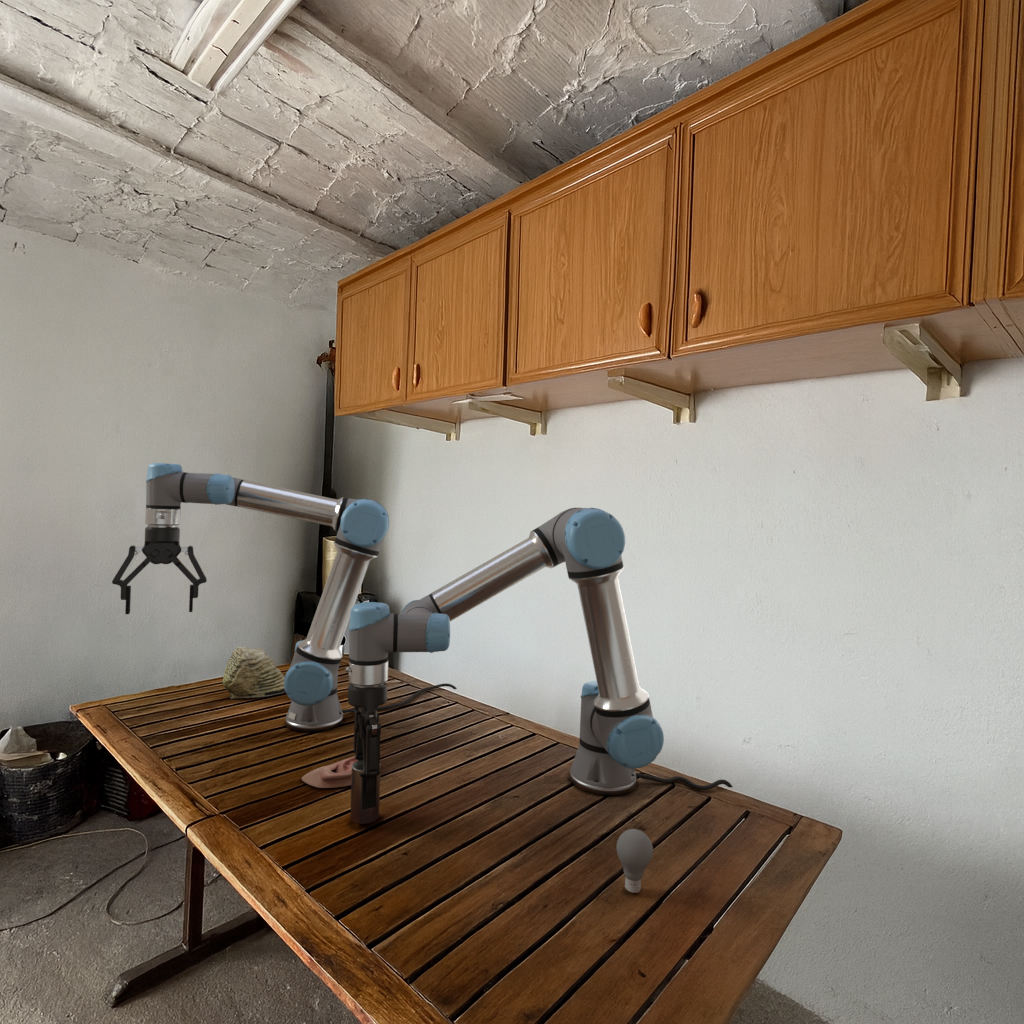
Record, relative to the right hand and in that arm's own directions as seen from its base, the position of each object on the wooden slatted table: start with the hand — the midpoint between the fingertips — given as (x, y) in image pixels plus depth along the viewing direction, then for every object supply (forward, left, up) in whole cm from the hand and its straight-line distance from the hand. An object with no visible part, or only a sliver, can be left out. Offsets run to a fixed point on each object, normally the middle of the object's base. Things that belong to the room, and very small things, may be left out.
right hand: (365, 799), depth 124 cm
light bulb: (-37, +37, -4) cm, 53 cm away
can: (0, 0, -3) cm, 3 cm away
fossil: (+16, -89, -4) cm, 90 cm away
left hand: (+40, -54, +29) cm, 73 cm away
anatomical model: (+2, -21, -4) cm, 22 cm away
